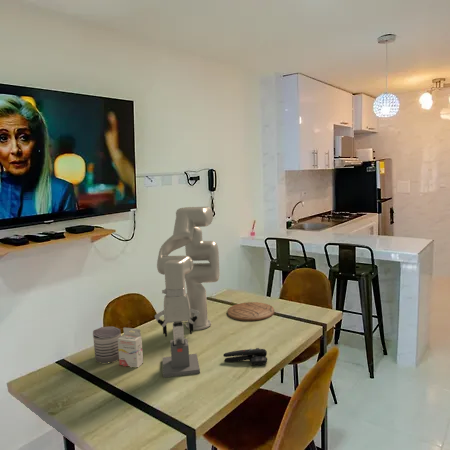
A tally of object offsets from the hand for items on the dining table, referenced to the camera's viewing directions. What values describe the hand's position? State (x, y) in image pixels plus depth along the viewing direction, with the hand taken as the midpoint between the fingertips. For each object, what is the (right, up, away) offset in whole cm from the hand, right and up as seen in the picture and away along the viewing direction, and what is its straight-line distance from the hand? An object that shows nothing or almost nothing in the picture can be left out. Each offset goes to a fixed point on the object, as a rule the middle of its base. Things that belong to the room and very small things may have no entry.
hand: (178, 334), depth 163 cm
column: (+1, -12, +2) cm, 12 cm away
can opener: (+27, -13, +4) cm, 30 cm away
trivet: (+32, -5, +59) cm, 68 cm away
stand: (+1, -14, +2) cm, 14 cm away
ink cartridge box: (-20, -14, +6) cm, 25 cm away
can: (-31, -14, +13) cm, 36 cm away
